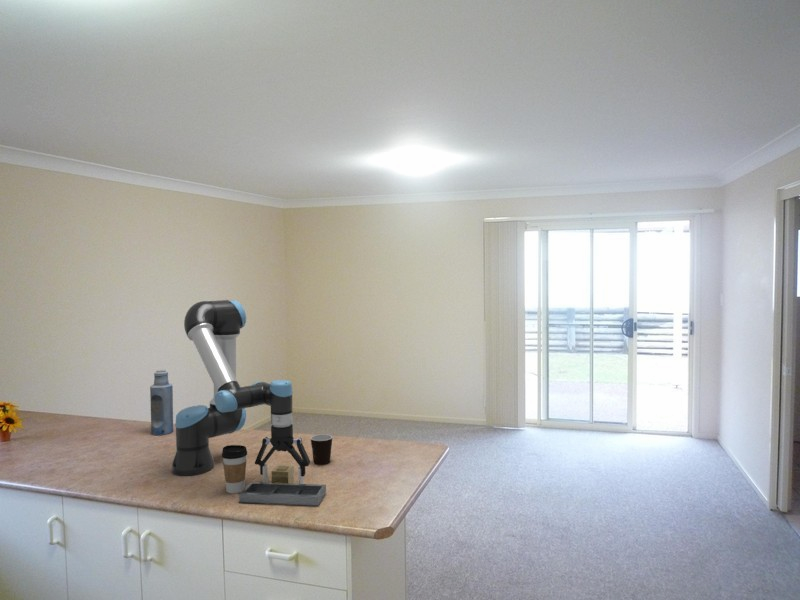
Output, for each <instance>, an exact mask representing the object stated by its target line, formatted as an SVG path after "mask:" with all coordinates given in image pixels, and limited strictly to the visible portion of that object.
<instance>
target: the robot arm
mask: <svg viewBox="0 0 800 600" xmlns="http://www.w3.org/2000/svg"><path fill="white" fill-rule="evenodd" d="M183 323H184V324H183V327H184V331H185V335H186V337H187V338H188V340H190V341H192V342H193V344H194V346H195V348H196V350H197V352H198V354H199V357H200V359H201V361H202V362H203V365H204V366H205V368H206V371H207V373H208V375H209V377H210V379H211V381H212V384H213V398H212V399H211V400H210V401H209V407H208V406H206V405H200V404H198V405H192V406H188V407H185V408H184V409H181V410H180V411H178V413H177V414H176V415H175V423H174V424H175V425H174V426H175V441H176V443H175V444H176V452H175V455H174V458H173V461H172V464H171V471H172V474H173V475H175V476H176V475H177V476H183V477H184V476H195V475H200V474H201V475H202V474H203V473H207V472H209V471H211V470H213V468H214V467H215V460H214V456H213V455H212V451H211V449H210V447H209V446H210V444H209V443H210V441H209V439H212V438H215V437H216V438H217V437H219V436H224V435H228V434H233V433H235V432H238V431H240V430H242V428H243V427H245V426H244V425H245V423H246V420H247V411H246V409H247V408H252V407H258V406H262V405H266V406H270V424H271V425H270V437H269V438H268V436H265V437H264V438H263V439H262V441H261V446H260V449H259V451H258V454H257V456H256V458H255V461H254V464H255V465H258V466H259V470H260V471H259V474H260V475H261V476H262V482H263V483H269V481H268V480H269V479H268V477H269V475H268V464H267V462H268V460H269V459H270V458H271V457H272V455H273V454H274V452H275V451H277V452H288V453H289V454H290V455H291V456H292V458H293V459H294V460H295V462H296V463H297V464H298V466H299V467H298V468H297V469H298V470H297V471H298V474H297V475H298V476H297V477H298V484H304V477H305V476H306V467H308V466H309V465H310V464H311V460H310V457H309V456H308V453H307V451H306V449H305V447H304V444H303V438H302V437H298V438H294V425H293V423H294V422H293V393H294V392H293V386H292V385H293V384H292V382H291V381H290V380H287V379H276V380H273V381H271V382H270V383H268V382H265V381H256V382H254V383H252V384H251V385H247V386H240V384H239V382H238V379H237V338H238V336H239V335H240V334H241V329H243V328H244V327H245V326H246V324H247V314H246V310H245V308H244V306H243V305H242V304H241V302H239V301H238V300H234V299H233V300H232V299H231V300H230V299H222V300H203V301H198V302H196V303H194V304H193V305H192V306H191V307H189V309H188V310H187V311H186V314H185V316H184V321H183ZM269 444H271V445H272V447H271V448H270V449H269V451H268V453H267V454H266V455H265V457H263V456H264V454H265V452H266V449H267V447H268V445H269ZM293 444H295V446H296V447H297V450H298V451H299V452H297V450H296V448H295V446H294V445H293ZM262 458H263V459H262Z"/></svg>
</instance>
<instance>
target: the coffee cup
mask: <svg viewBox="0 0 800 600" xmlns="http://www.w3.org/2000/svg"><path fill="white" fill-rule="evenodd" d="M247 455H248V451H247V447H246V446H245V445H240V444H238V445H237V444H229V445H226V446H223V447H222V452H221V457H222V459H223V462H222V464H223V465H222V466H223V473H224V481H225V489H226V493H228V494H238V493H240V492H242V491H243V490H244V489H245V485H246V484H245V482H246V471H247V470H246V469H247Z"/></svg>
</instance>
